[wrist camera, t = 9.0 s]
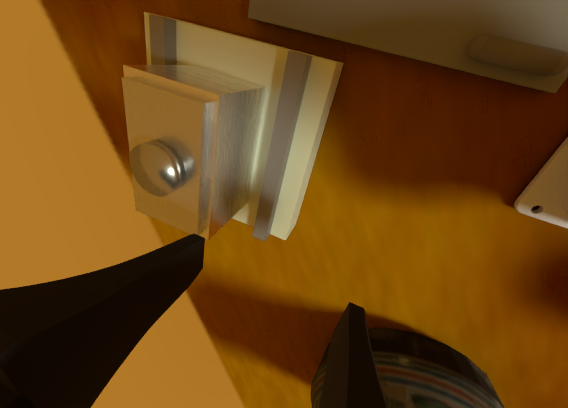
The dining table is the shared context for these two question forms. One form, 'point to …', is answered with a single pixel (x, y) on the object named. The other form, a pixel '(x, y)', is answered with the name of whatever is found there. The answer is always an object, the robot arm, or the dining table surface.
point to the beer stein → (420, 374)
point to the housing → (191, 143)
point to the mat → (443, 33)
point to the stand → (276, 113)
